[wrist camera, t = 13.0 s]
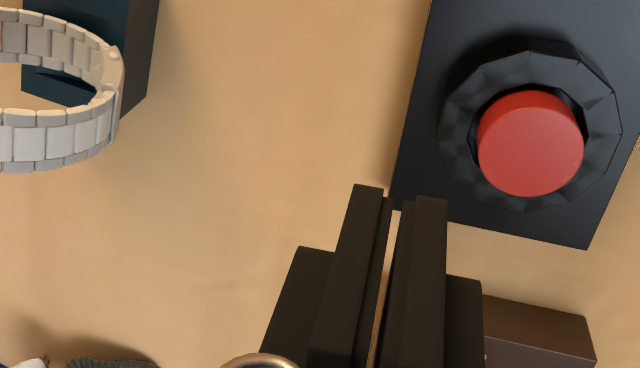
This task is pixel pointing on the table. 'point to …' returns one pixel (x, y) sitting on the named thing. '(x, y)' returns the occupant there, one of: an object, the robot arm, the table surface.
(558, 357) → the panel
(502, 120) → the button
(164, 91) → the table surface
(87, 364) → the eagle figurine
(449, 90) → the button block
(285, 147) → the table surface
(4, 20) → the watch
